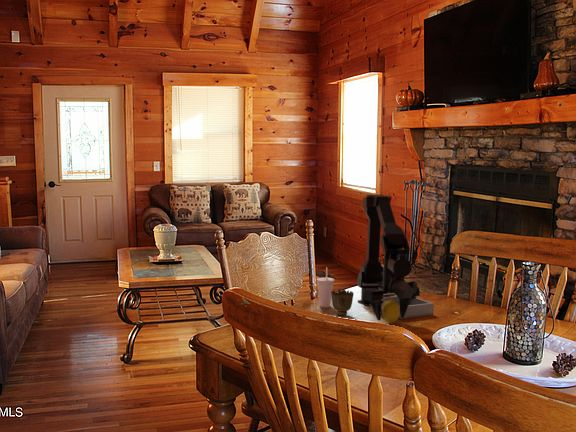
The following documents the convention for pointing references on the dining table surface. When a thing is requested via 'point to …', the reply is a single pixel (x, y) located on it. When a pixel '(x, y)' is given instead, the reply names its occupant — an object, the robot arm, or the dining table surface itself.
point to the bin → (413, 307)
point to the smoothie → (325, 290)
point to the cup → (342, 301)
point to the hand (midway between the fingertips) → (390, 318)
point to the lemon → (390, 311)
